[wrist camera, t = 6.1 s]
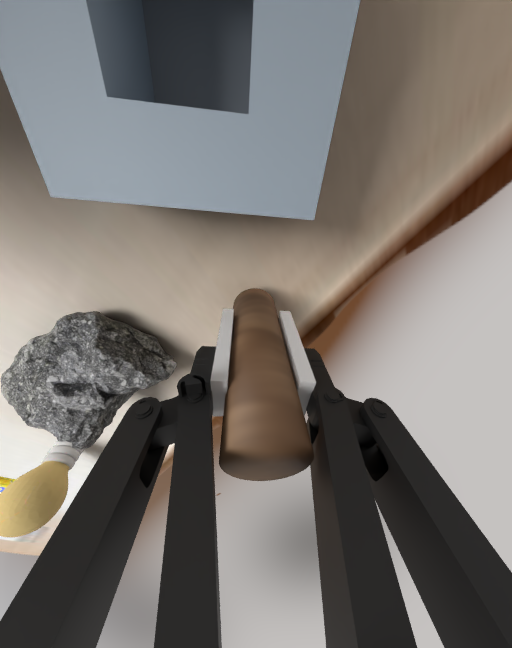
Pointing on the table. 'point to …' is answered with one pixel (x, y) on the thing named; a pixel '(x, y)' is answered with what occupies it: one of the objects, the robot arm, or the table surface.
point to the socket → (180, 98)
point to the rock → (82, 375)
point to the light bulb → (37, 492)
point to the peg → (261, 398)
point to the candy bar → (5, 483)
